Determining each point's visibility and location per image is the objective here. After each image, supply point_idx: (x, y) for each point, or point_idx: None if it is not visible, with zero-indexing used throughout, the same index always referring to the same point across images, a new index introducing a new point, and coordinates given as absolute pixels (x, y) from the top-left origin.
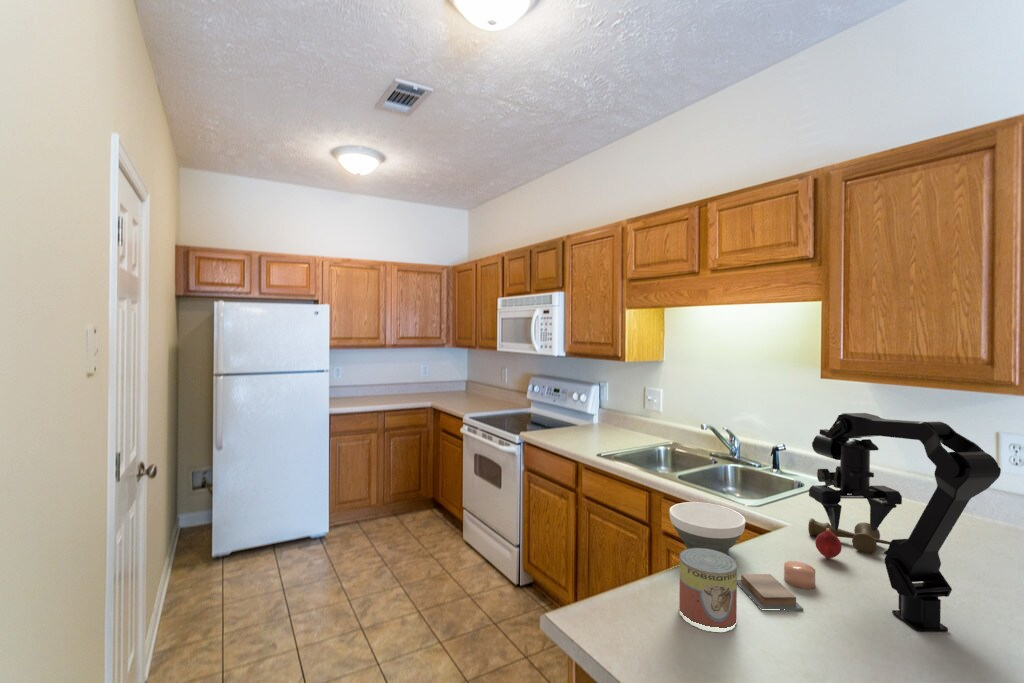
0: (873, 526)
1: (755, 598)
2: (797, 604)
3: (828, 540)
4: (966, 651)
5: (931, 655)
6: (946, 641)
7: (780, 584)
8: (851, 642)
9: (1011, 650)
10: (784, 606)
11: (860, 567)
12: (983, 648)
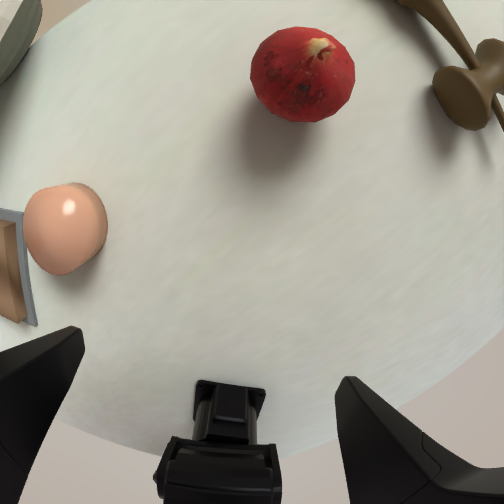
0: (341, 413)
1: None
2: (30, 313)
3: (278, 89)
4: None
5: (165, 441)
6: None
7: (6, 275)
8: (74, 397)
9: (297, 451)
10: None
11: (350, 171)
12: None
